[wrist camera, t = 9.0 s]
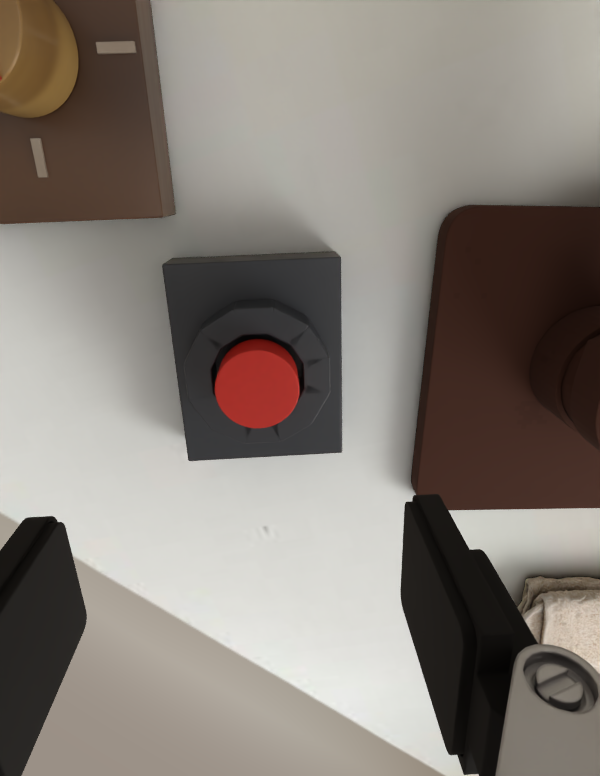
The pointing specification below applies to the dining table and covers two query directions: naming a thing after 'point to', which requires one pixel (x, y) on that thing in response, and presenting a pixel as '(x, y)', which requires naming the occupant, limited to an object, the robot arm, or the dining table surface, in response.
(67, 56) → the dimmer knob
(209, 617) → the dining table surface
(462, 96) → the dining table surface
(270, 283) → the switch block
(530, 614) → the washcloth
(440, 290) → the lever handle
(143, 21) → the dimmer panel
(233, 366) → the power button
